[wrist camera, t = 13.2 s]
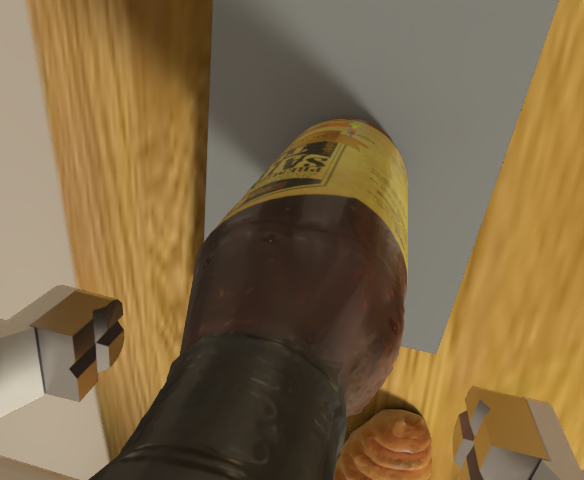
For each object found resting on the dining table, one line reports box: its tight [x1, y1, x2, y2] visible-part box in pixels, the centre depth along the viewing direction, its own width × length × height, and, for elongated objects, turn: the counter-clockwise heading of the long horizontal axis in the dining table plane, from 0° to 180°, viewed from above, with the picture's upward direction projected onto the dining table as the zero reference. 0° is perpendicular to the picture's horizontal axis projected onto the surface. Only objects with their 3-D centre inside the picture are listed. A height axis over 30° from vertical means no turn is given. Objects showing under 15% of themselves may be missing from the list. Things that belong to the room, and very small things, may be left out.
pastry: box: [334, 409, 432, 480], centre depth 31 cm, size 9×7×4 cm
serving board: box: [204, 0, 559, 354], centre depth 24 cm, size 20×15×2 cm
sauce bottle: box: [89, 117, 408, 480], centre depth 14 cm, size 7×6×20 cm
